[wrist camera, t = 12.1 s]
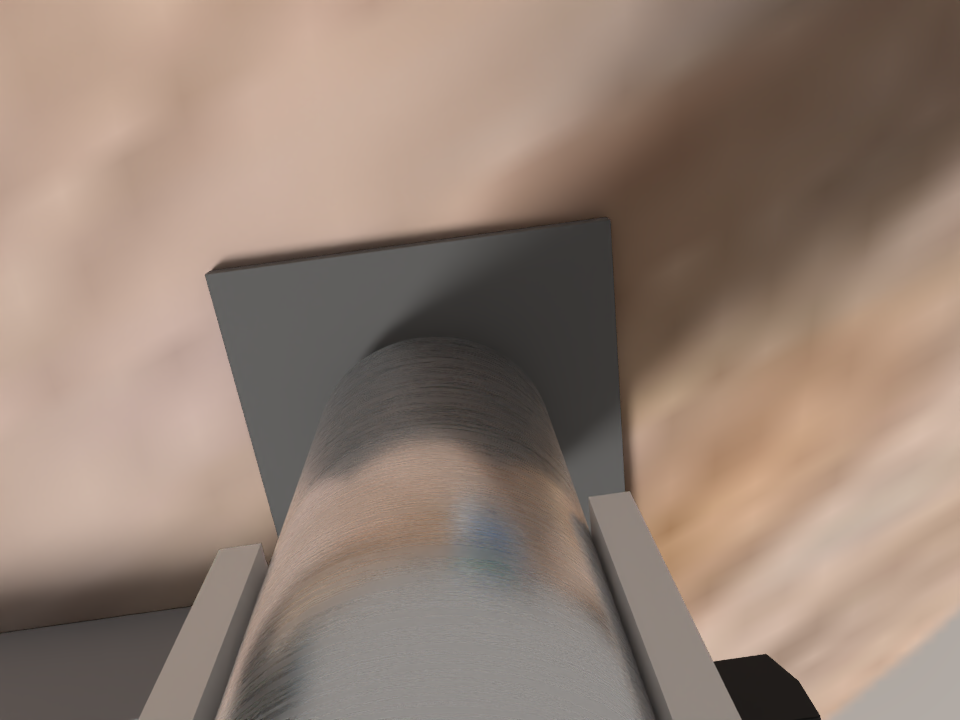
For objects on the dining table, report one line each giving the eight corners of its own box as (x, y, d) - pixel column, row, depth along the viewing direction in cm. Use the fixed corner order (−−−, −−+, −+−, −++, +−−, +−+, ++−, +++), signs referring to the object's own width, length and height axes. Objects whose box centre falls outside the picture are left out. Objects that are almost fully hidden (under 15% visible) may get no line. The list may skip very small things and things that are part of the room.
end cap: (295, 354, 17) (-13, 927, 5) (540, 320, 17) (768, 811, 5) (343, 556, 19) (201, 1274, 7) (560, 526, 19) (752, 1188, 7)
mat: (210, 270, 17) (205, 274, 17) (606, 216, 17) (610, 219, 17) (298, 591, 21) (295, 600, 20) (624, 545, 21) (628, 553, 20)
